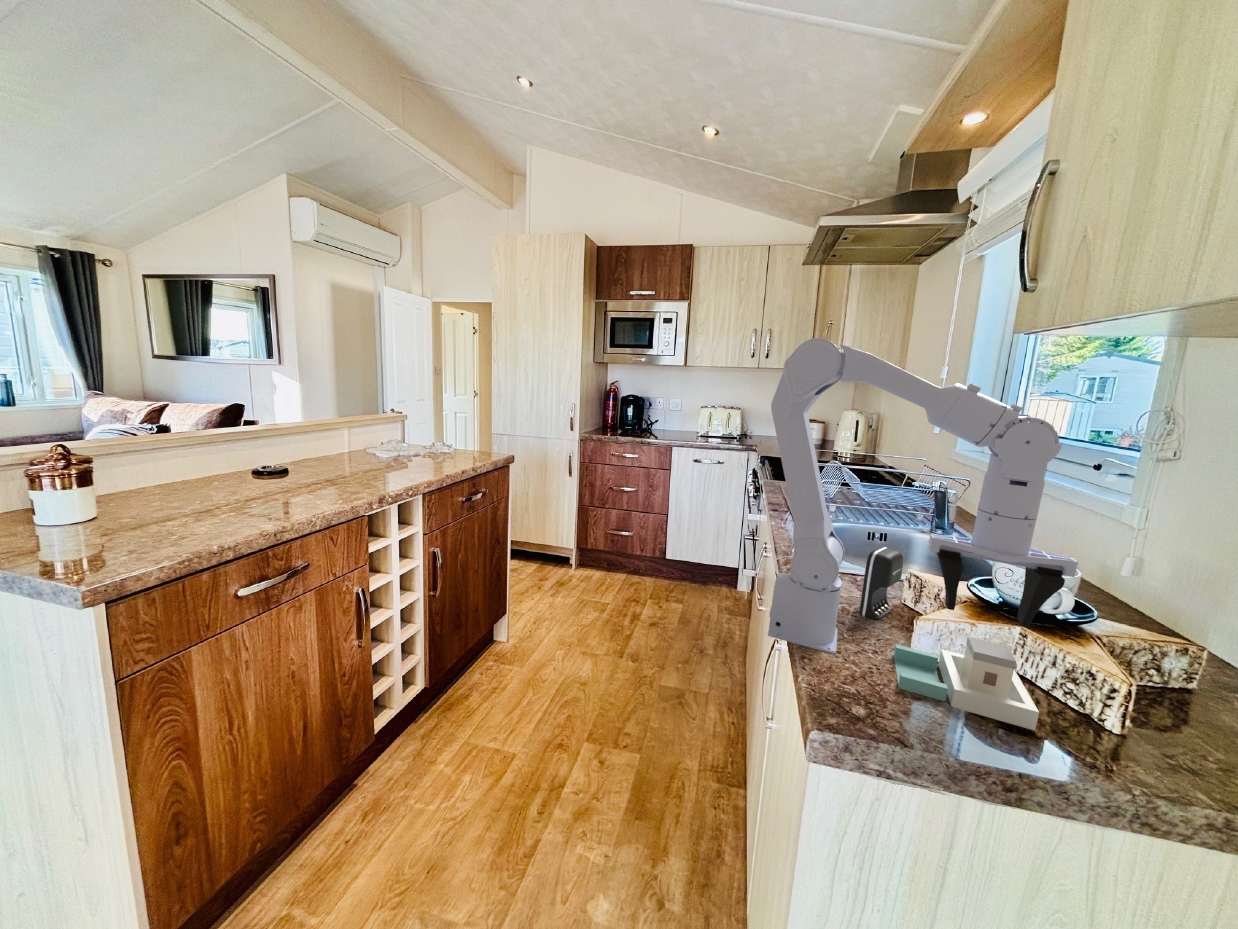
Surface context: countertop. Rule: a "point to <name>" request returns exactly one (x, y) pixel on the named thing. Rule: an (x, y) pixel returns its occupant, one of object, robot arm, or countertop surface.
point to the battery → (879, 581)
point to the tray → (987, 696)
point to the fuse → (987, 667)
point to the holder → (918, 672)
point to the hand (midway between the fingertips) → (985, 614)
